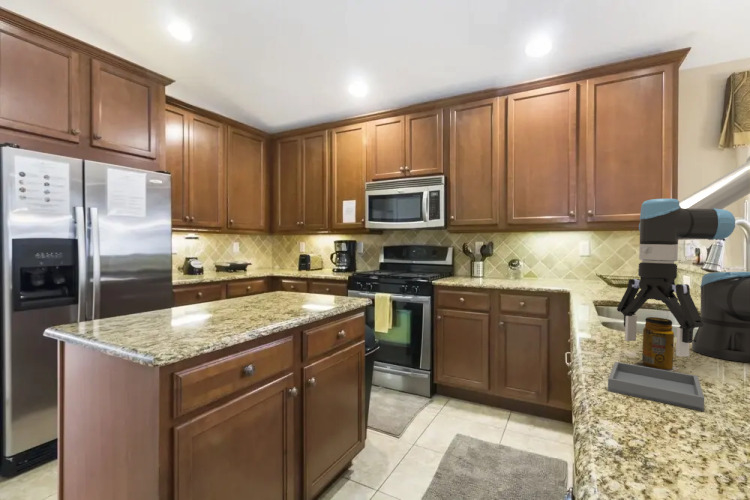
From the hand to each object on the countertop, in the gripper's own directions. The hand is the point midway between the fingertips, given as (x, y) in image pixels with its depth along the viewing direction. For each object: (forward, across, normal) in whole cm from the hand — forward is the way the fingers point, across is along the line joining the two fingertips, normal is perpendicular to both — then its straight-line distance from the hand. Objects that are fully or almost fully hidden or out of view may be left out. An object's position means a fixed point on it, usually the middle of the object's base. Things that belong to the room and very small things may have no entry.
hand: (654, 347), depth 90 cm
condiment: (+5, 0, 0) cm, 5 cm away
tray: (+5, +12, -14) cm, 19 cm away
